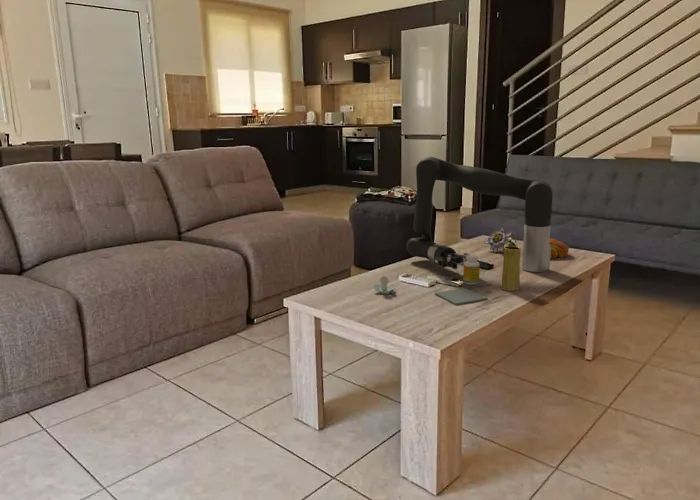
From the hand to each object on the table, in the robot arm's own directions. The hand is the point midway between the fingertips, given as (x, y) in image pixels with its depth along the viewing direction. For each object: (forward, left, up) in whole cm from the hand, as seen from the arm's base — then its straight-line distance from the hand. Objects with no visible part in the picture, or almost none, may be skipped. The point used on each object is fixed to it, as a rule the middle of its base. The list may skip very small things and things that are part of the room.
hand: (466, 264), depth 192 cm
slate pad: (+12, +14, -6) cm, 19 cm away
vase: (-8, +14, -6) cm, 17 cm away
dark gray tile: (0, +3, -6) cm, 7 cm away
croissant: (-53, -15, -6) cm, 56 cm away
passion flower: (-40, -31, -6) cm, 51 cm away
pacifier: (+31, -2, -6) cm, 32 cm away
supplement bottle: (0, +3, -6) cm, 7 cm away
